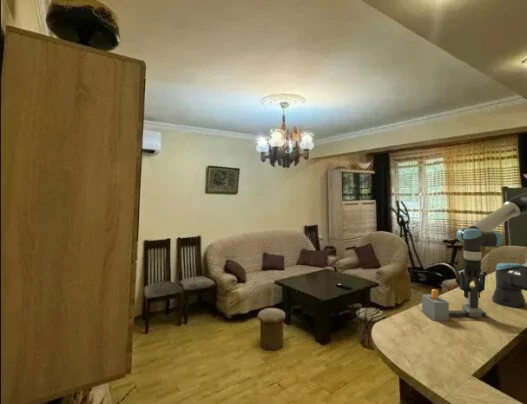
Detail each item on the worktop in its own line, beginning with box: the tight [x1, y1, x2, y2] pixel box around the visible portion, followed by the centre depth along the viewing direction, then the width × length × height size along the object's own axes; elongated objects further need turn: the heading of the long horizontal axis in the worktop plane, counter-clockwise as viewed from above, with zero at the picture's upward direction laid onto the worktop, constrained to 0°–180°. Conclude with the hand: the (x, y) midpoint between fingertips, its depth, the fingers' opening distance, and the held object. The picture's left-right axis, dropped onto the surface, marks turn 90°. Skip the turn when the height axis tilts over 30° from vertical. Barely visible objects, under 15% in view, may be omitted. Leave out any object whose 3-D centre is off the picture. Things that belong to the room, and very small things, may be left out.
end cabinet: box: [421, 293, 450, 320], centre depth 155 cm, size 7×12×9 cm, turn 178°
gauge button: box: [431, 288, 439, 300], centre depth 155 cm, size 3×3×8 cm
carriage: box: [461, 285, 483, 317], centre depth 154 cm, size 6×6×14 cm
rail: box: [449, 309, 487, 317], centre depth 154 cm, size 22×3×2 cm, turn 88°
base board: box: [420, 310, 497, 322], centre depth 155 cm, size 31×13×1 cm, turn 88°
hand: (471, 303), depth 154 cm, fingers closed on carriage, 4 cm apart
